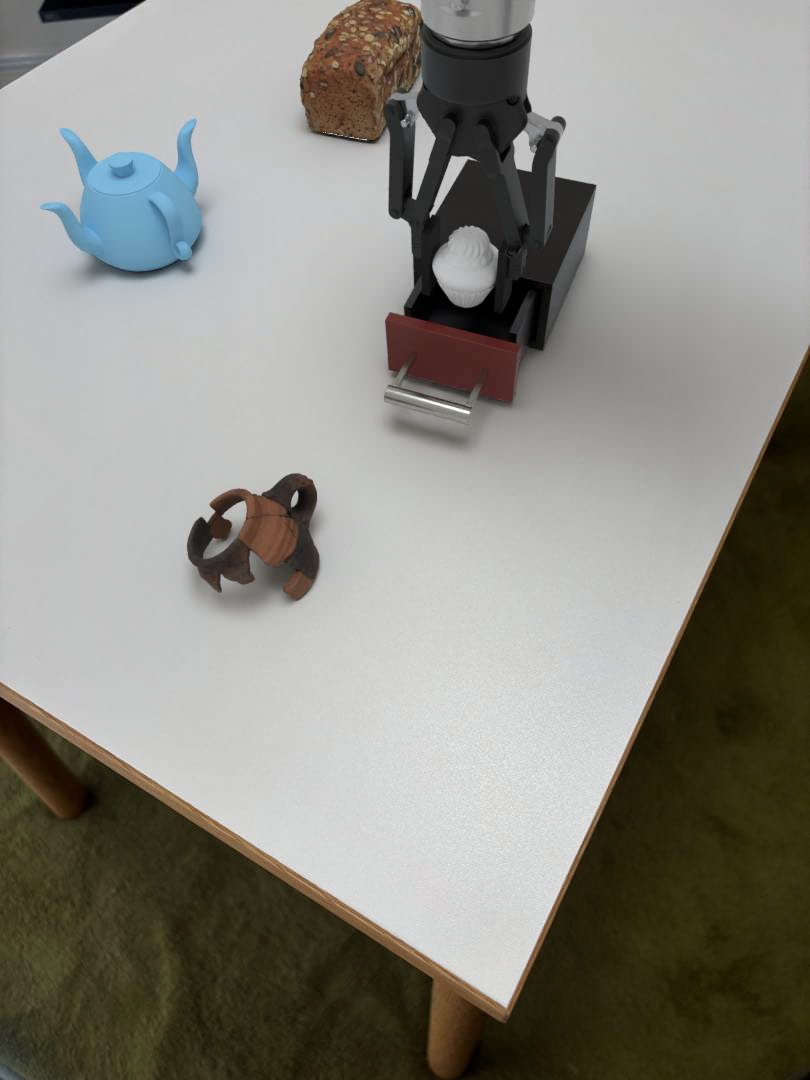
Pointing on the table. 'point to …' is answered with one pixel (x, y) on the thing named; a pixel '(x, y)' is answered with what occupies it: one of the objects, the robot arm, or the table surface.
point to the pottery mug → (261, 535)
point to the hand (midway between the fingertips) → (466, 293)
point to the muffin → (466, 266)
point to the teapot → (134, 206)
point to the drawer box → (568, 236)
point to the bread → (361, 67)
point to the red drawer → (459, 348)
